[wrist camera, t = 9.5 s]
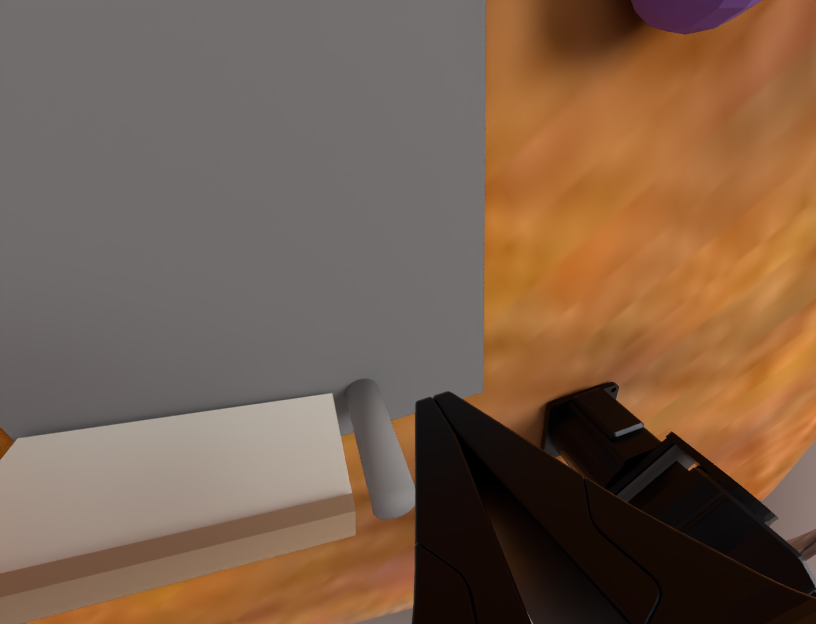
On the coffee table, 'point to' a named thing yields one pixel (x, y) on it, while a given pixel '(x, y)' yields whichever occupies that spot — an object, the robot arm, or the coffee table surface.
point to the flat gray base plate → (241, 212)
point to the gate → (166, 502)
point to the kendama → (689, 13)
